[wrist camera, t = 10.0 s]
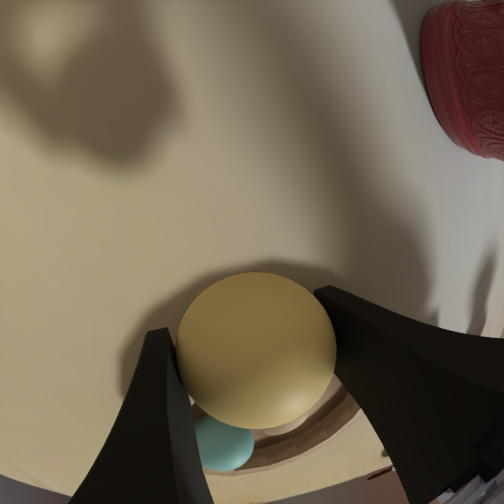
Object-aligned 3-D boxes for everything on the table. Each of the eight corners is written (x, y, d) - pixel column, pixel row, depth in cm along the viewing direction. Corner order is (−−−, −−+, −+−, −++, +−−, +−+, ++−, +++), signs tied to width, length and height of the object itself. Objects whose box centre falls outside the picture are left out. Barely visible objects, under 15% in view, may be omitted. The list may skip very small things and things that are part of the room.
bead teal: (241, 394, 19) (262, 446, 15) (245, 425, 21) (263, 470, 17) (177, 406, 18) (188, 462, 14) (190, 437, 20) (201, 484, 16)
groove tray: (386, 268, 19) (412, 287, 17) (351, 411, 28) (364, 429, 25) (113, 340, 15) (112, 375, 12) (188, 466, 23) (194, 488, 21)
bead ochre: (293, 234, 10) (384, 309, 6) (294, 337, 12) (353, 421, 8) (153, 264, 9) (164, 378, 5) (184, 367, 11) (212, 471, 7)
